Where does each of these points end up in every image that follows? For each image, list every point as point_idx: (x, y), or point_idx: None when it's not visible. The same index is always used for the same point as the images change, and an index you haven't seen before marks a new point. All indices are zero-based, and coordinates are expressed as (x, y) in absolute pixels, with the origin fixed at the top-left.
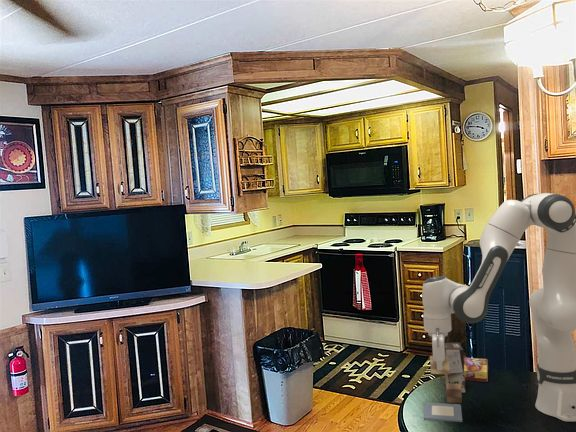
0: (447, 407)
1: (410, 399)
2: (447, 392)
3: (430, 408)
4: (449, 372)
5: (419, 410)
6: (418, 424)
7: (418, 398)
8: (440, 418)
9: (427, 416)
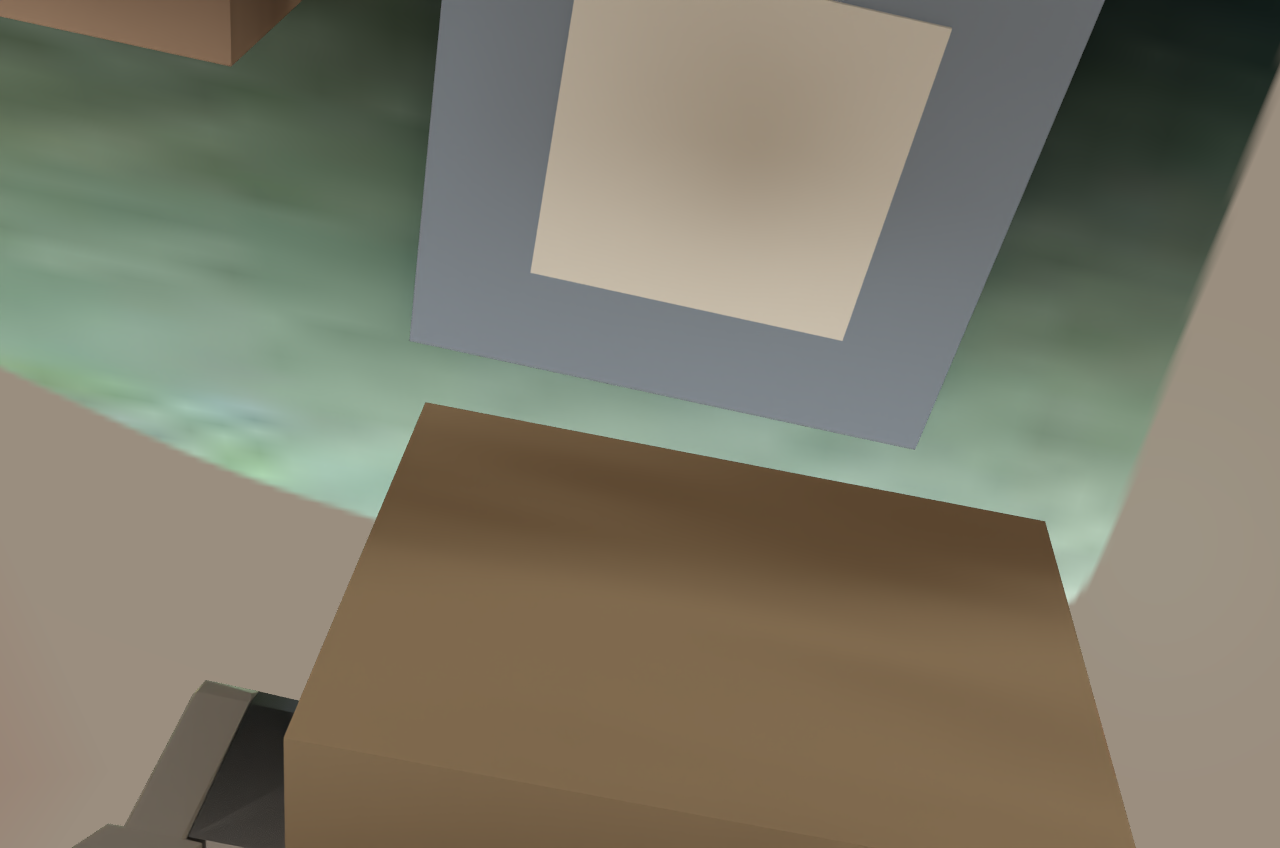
0: (611, 55)
1: (274, 464)
2: (259, 19)
3: (625, 311)
4: (1058, 572)
5: (624, 429)
6: (1031, 515)
7: (226, 366)
8: (986, 252)
9: (881, 400)
